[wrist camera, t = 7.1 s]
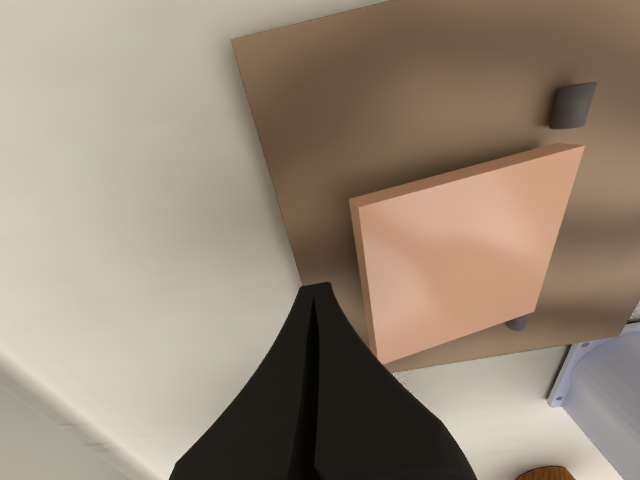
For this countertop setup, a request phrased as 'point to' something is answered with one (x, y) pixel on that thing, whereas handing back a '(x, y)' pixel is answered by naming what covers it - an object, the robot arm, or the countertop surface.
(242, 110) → the countertop surface
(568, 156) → the tile
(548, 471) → the disposable coffee cup
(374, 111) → the board
